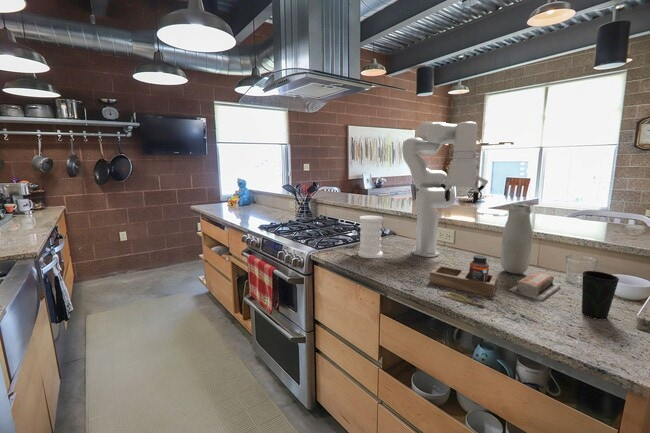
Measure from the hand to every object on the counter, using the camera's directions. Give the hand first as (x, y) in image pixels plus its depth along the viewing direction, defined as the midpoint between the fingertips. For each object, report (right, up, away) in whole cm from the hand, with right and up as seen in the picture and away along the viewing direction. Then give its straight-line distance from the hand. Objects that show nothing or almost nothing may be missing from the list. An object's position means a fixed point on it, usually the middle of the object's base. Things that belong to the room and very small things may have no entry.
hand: (460, 201), depth 121 cm
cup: (+25, -34, -30) cm, 52 cm away
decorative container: (-31, -24, +29) cm, 48 cm away
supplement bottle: (+1, -31, -10) cm, 32 cm away
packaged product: (+21, -31, -12) cm, 39 cm away
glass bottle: (+23, -28, +5) cm, 37 cm away
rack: (-3, -30, -8) cm, 31 cm away
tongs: (-8, -33, -21) cm, 40 cm away
